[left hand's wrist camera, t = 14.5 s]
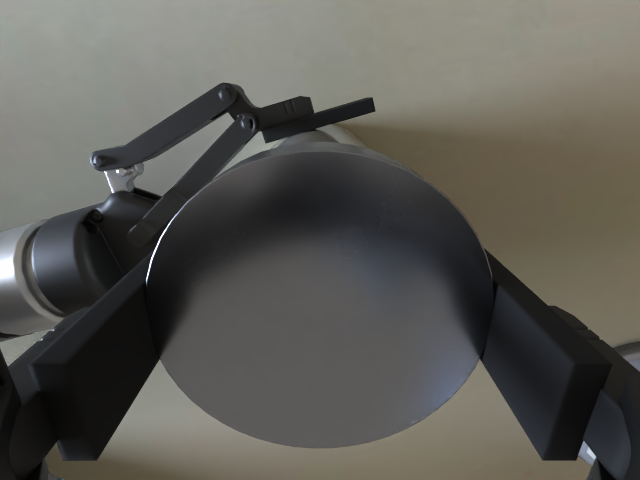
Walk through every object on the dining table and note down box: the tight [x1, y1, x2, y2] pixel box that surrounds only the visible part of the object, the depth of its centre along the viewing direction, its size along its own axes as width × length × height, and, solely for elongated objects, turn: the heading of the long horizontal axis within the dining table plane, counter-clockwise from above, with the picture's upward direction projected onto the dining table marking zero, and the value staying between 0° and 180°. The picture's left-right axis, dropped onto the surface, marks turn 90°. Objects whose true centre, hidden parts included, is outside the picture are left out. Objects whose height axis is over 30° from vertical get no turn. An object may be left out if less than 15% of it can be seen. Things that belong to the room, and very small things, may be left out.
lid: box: [145, 142, 494, 448], centre depth 11 cm, size 10×10×2 cm
